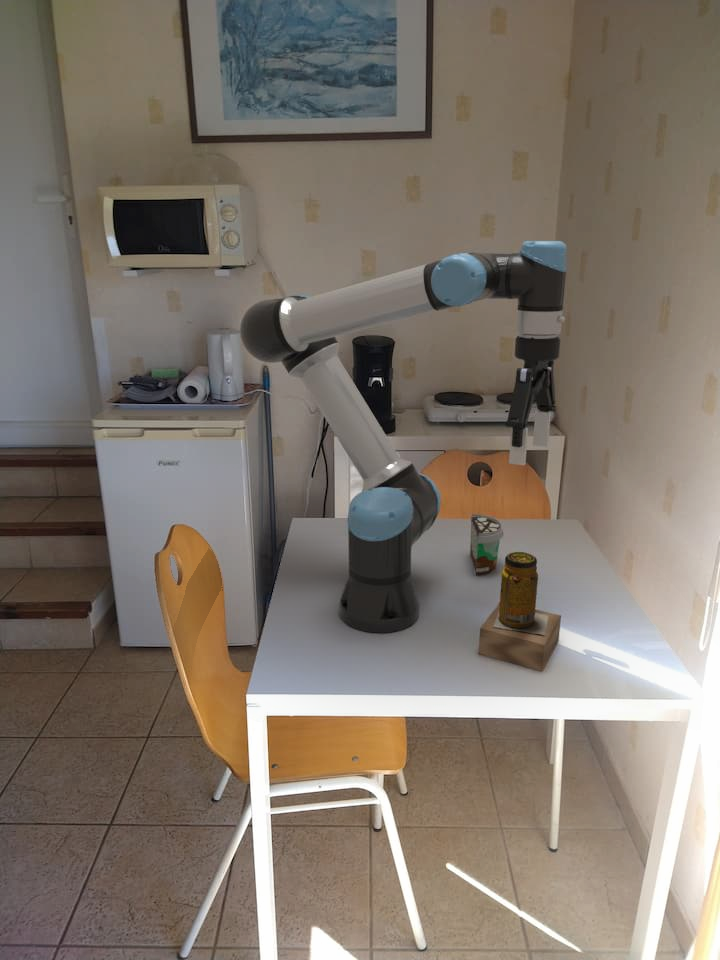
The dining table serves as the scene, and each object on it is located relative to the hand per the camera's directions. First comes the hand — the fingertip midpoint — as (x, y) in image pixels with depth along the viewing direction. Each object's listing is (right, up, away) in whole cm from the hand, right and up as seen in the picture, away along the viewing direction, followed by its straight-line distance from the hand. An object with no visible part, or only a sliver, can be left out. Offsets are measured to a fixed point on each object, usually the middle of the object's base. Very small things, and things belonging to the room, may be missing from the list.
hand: (529, 454), depth 129 cm
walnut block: (-3, -34, -4) cm, 34 cm away
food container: (-3, -24, +27) cm, 36 cm away
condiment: (-3, -29, -6) cm, 30 cm away
